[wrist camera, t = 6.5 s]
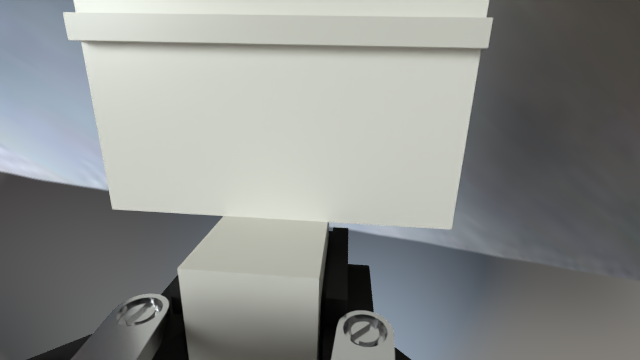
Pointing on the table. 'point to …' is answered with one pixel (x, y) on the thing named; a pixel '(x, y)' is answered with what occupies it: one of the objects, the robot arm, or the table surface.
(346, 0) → the lid
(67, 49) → the table surface
